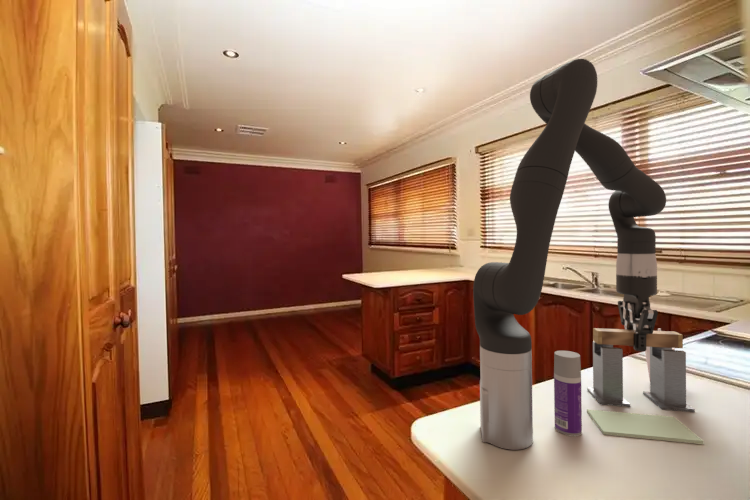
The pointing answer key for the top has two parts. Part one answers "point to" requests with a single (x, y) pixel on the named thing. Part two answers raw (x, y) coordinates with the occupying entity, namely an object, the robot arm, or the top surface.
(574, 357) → the container
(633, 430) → the mat
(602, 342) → the rail
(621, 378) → the post left
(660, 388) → the post right
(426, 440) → the top surface
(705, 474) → the top surface
